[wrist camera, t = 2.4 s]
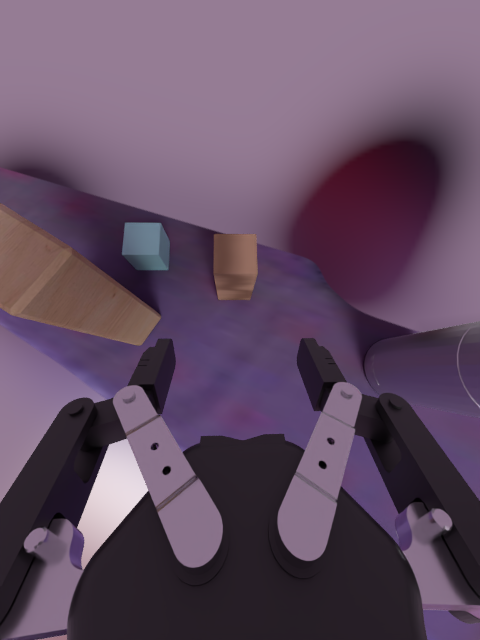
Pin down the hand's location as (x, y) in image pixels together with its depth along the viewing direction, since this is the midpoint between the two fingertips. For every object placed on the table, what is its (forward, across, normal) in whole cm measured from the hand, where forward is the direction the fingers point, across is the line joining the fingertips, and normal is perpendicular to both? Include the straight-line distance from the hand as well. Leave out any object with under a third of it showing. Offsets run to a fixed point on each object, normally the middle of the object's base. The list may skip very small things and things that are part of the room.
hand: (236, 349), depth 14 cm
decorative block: (+19, +17, +9) cm, 27 cm away
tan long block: (+22, 0, +5) cm, 23 cm away
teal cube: (+26, +13, +2) cm, 29 cm away
